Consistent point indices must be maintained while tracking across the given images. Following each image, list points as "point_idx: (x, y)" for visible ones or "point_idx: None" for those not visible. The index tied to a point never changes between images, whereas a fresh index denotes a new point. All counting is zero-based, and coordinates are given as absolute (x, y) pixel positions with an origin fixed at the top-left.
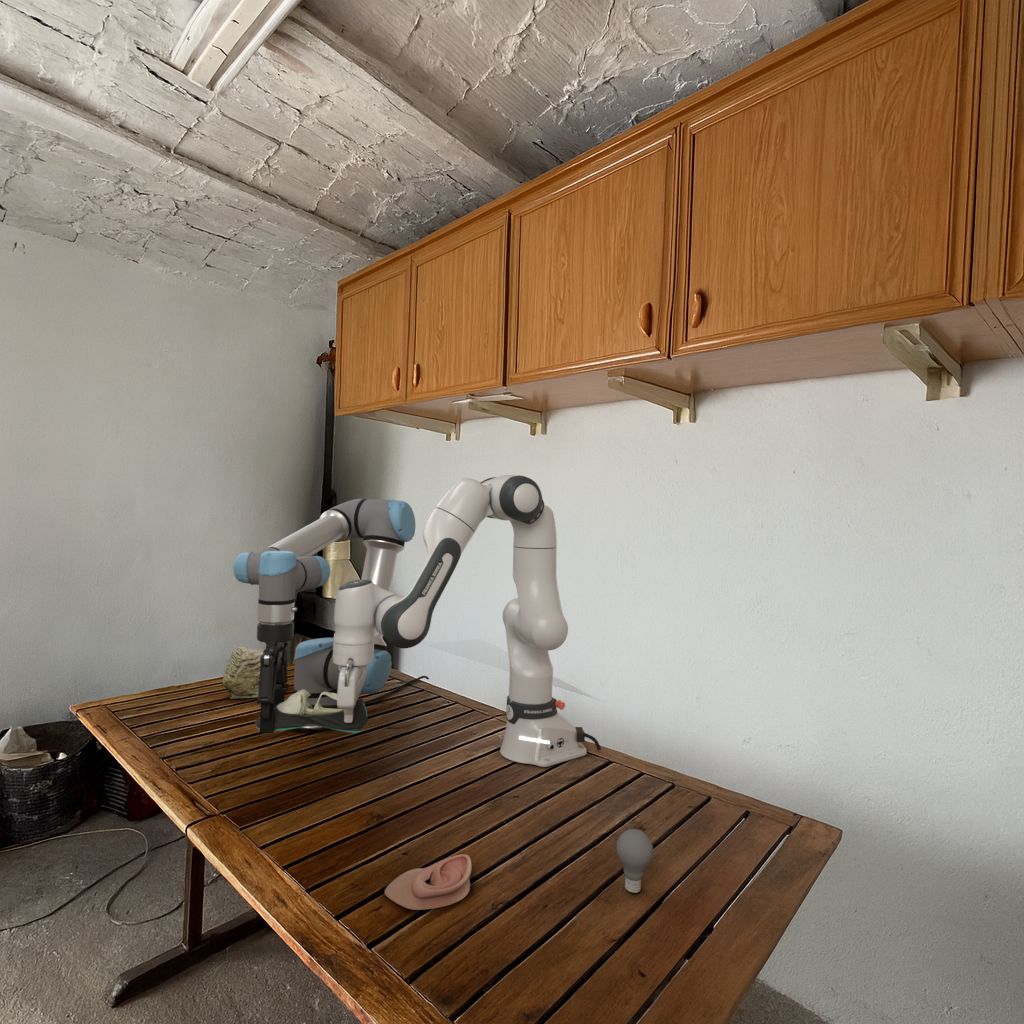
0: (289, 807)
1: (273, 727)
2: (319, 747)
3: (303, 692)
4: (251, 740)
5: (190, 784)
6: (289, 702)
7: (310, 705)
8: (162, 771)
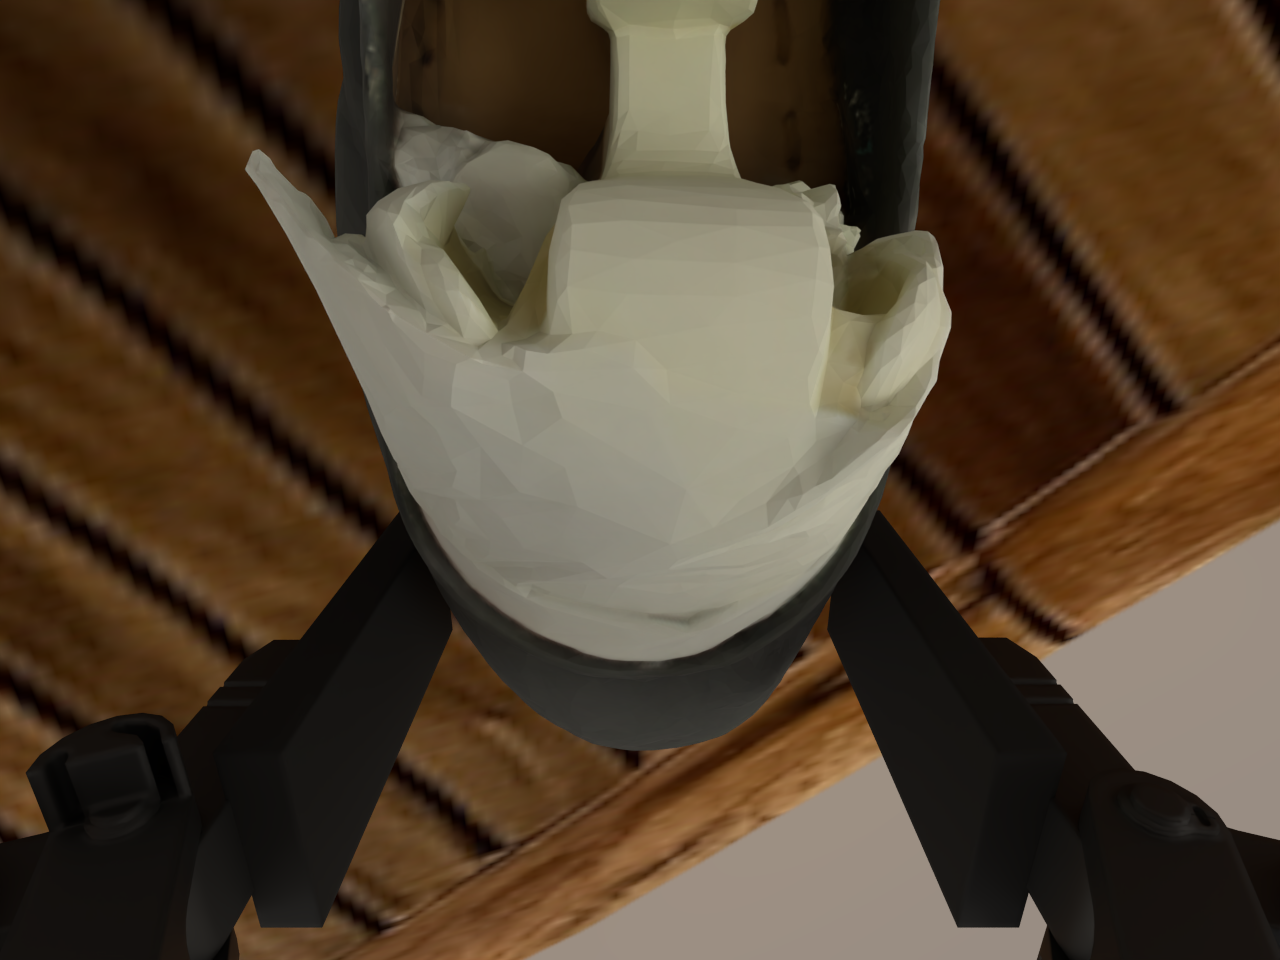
0: (976, 206)
1: (874, 534)
2: (46, 202)
3: (700, 264)
4: (67, 651)
5: (651, 755)
6: (850, 502)
7: (431, 139)
8: (517, 889)
